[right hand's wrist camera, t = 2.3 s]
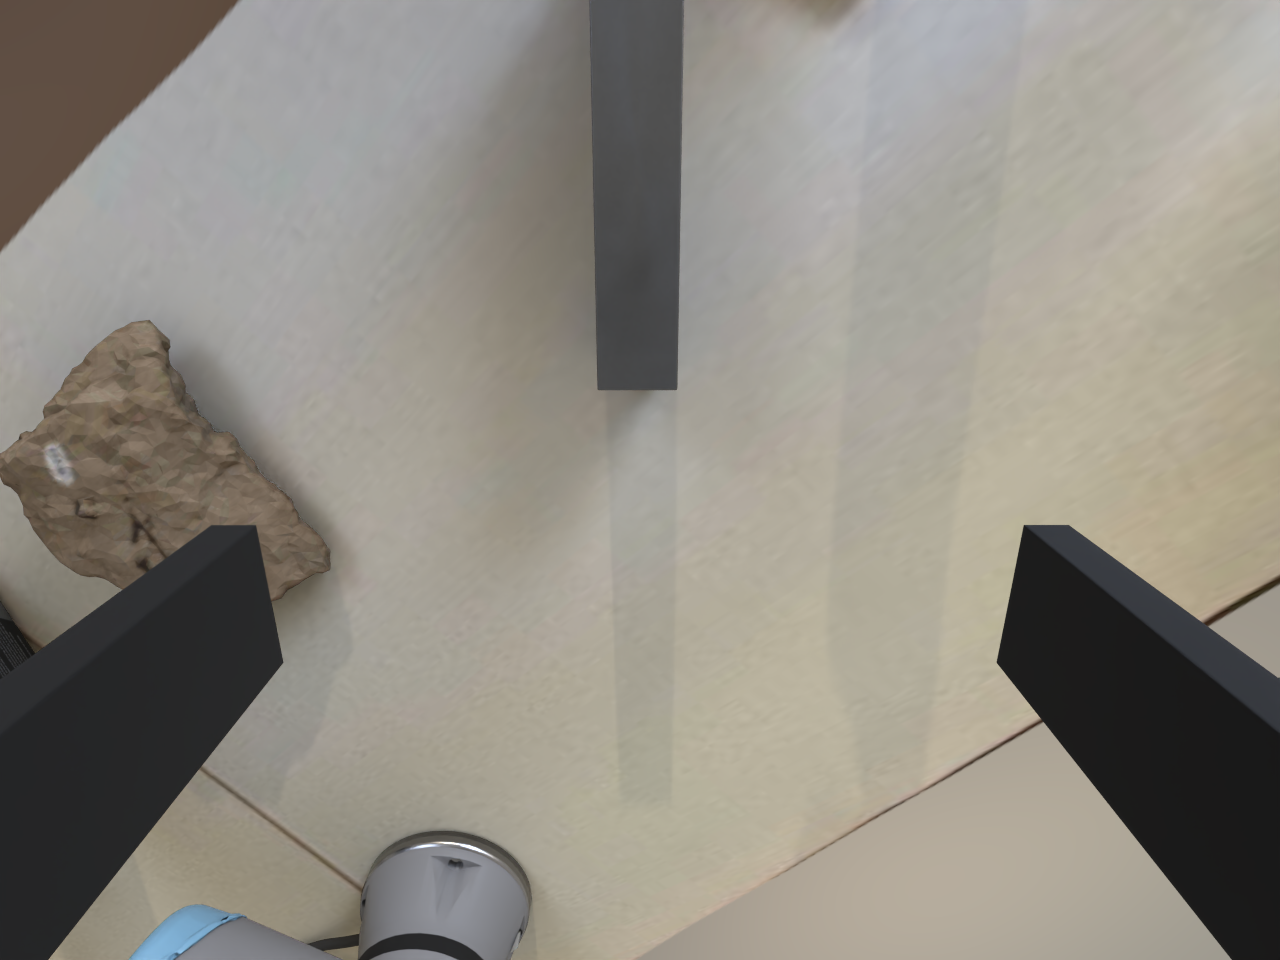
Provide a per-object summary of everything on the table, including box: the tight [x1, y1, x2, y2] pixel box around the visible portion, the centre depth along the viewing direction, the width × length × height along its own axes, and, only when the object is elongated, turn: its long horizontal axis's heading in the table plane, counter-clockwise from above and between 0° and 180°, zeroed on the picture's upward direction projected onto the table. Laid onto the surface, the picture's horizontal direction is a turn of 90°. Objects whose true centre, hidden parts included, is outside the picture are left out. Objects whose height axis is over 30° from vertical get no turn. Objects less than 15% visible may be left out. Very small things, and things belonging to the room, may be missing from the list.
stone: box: [0, 320, 330, 601], centre depth 52 cm, size 21×15×6 cm
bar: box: [590, 0, 684, 390], centre depth 43 cm, size 25×5×9 cm, turn 0°
